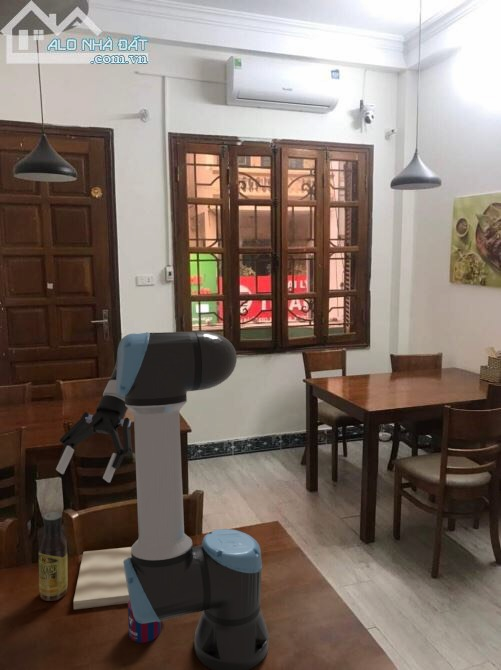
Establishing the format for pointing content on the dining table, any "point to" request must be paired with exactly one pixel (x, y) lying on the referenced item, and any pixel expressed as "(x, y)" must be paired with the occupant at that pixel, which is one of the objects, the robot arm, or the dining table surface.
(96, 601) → the birch board
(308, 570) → the dining table surface
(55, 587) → the sauce bottle
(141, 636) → the mug
